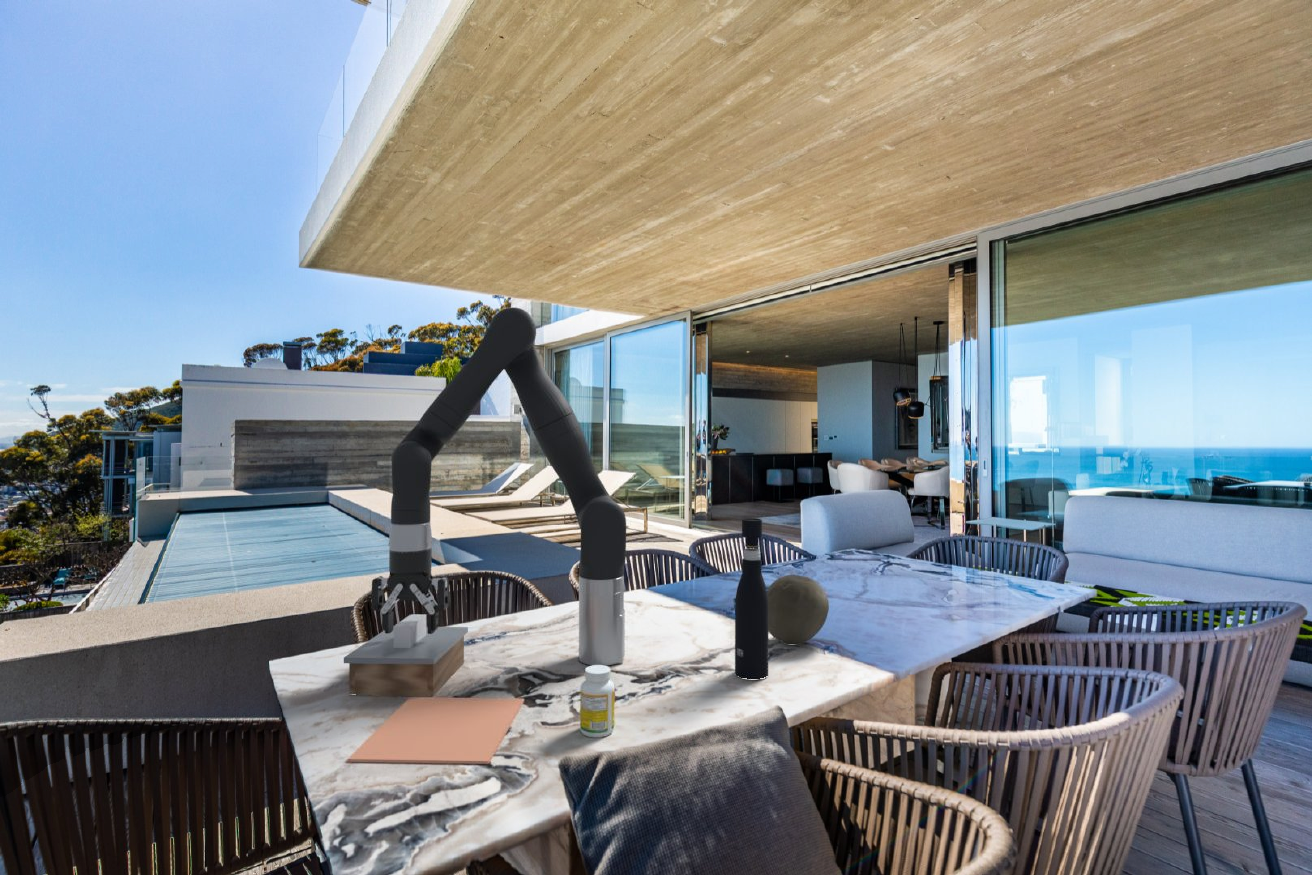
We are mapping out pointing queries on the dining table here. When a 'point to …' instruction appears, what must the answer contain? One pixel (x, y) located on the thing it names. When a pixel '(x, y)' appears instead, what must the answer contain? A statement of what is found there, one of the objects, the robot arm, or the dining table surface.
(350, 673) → the box
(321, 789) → the dining table surface
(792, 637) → the cantaloupe
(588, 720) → the supplement bottle
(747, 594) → the black water bottle
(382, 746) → the mat
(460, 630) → the lid
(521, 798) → the dining table surface
